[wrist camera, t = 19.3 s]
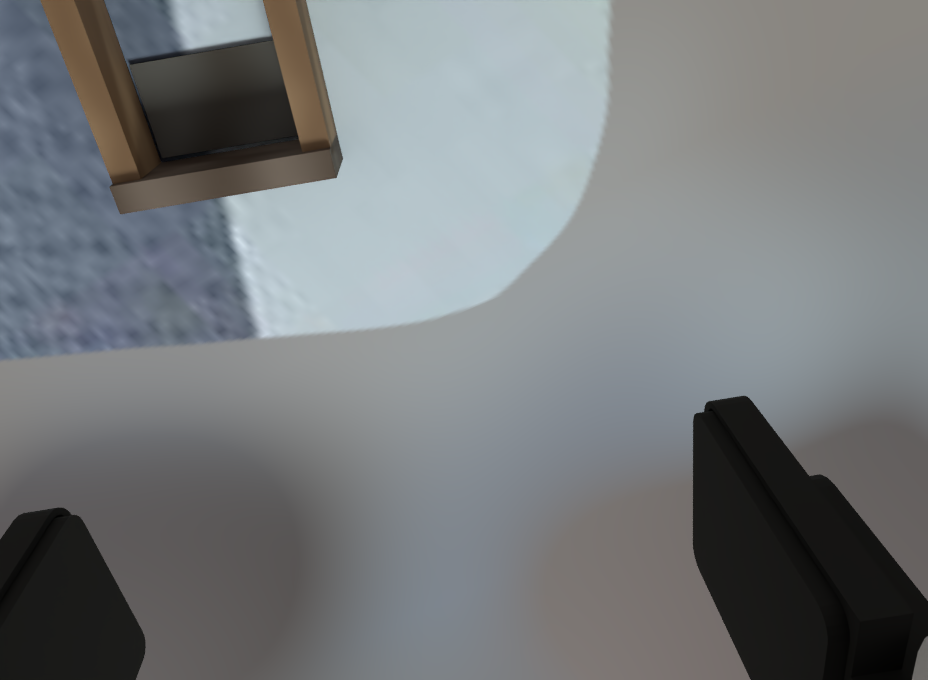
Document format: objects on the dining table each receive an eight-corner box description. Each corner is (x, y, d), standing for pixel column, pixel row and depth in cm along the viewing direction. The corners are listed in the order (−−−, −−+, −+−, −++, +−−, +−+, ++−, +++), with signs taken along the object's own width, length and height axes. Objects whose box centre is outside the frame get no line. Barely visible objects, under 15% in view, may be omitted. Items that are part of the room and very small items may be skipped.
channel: (145, 192, 41) (120, 214, 38) (12, -161, 33) (-35, -175, 30) (342, 158, 41) (336, 177, 38) (258, -205, 33) (240, -224, 30)
